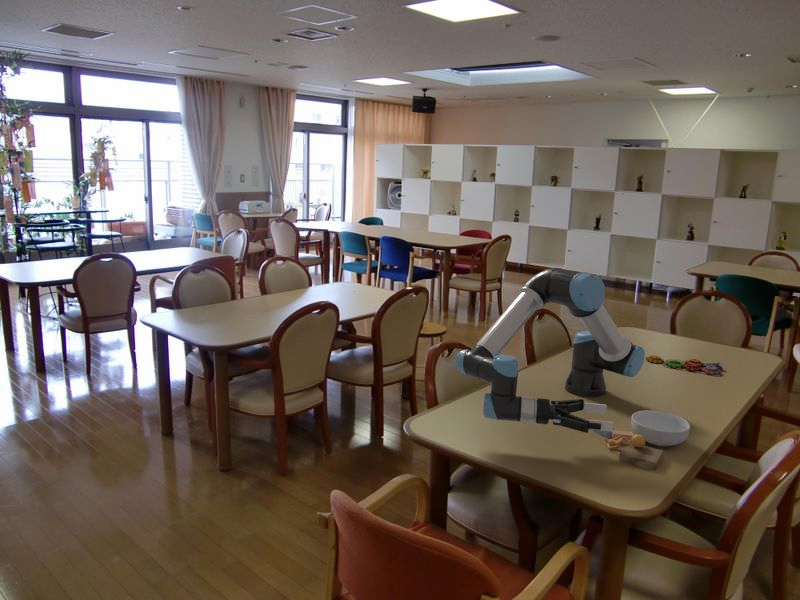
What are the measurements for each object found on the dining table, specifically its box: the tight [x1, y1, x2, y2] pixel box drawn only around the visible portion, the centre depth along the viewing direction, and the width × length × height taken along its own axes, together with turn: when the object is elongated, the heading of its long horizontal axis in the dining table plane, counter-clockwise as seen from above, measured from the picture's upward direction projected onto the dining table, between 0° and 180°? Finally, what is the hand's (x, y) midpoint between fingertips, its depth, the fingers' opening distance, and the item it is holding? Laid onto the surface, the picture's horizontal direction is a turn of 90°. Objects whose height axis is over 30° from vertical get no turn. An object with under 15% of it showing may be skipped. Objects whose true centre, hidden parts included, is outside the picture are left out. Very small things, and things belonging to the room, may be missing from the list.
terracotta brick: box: [610, 429, 634, 444], centre depth 196 cm, size 6×3×3 cm, turn 79°
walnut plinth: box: [618, 443, 664, 472], centre depth 184 cm, size 10×10×3 cm
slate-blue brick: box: [591, 427, 615, 439], centre depth 201 cm, size 6×3×3 cm, turn 27°
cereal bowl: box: [630, 409, 691, 447], centre depth 196 cm, size 17×17×7 cm
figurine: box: [604, 434, 646, 449], centre depth 189 cm, size 8×6×12 cm
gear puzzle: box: [645, 354, 723, 378], centre depth 277 cm, size 31×16×4 cm, turn 59°
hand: (609, 417), depth 184 cm, fingers open, 13 cm apart
